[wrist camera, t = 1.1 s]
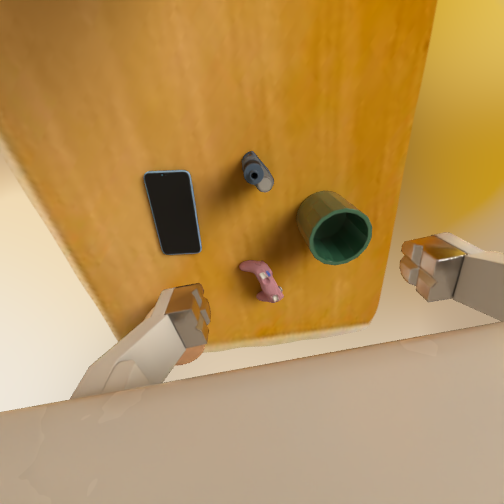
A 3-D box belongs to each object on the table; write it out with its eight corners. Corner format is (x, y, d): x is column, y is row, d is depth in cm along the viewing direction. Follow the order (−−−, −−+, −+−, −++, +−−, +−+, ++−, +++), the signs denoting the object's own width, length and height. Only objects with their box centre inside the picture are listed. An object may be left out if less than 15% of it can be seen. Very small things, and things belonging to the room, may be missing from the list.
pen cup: (293, 197, 40) (306, 216, 33) (347, 185, 40) (373, 202, 32) (299, 243, 45) (312, 270, 37) (347, 233, 45) (370, 258, 37)
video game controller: (272, 285, 52) (291, 300, 46) (256, 298, 51) (273, 315, 45) (254, 250, 47) (272, 261, 41) (235, 263, 46) (252, 277, 40)
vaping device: (250, 146, 36) (256, 159, 26) (271, 173, 38) (284, 195, 28) (238, 158, 37) (238, 175, 27) (259, 184, 39) (267, 208, 29)
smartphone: (162, 255, 44) (141, 172, 36) (163, 253, 45) (142, 171, 37) (202, 253, 44) (189, 170, 36) (203, 251, 45) (190, 169, 37)
